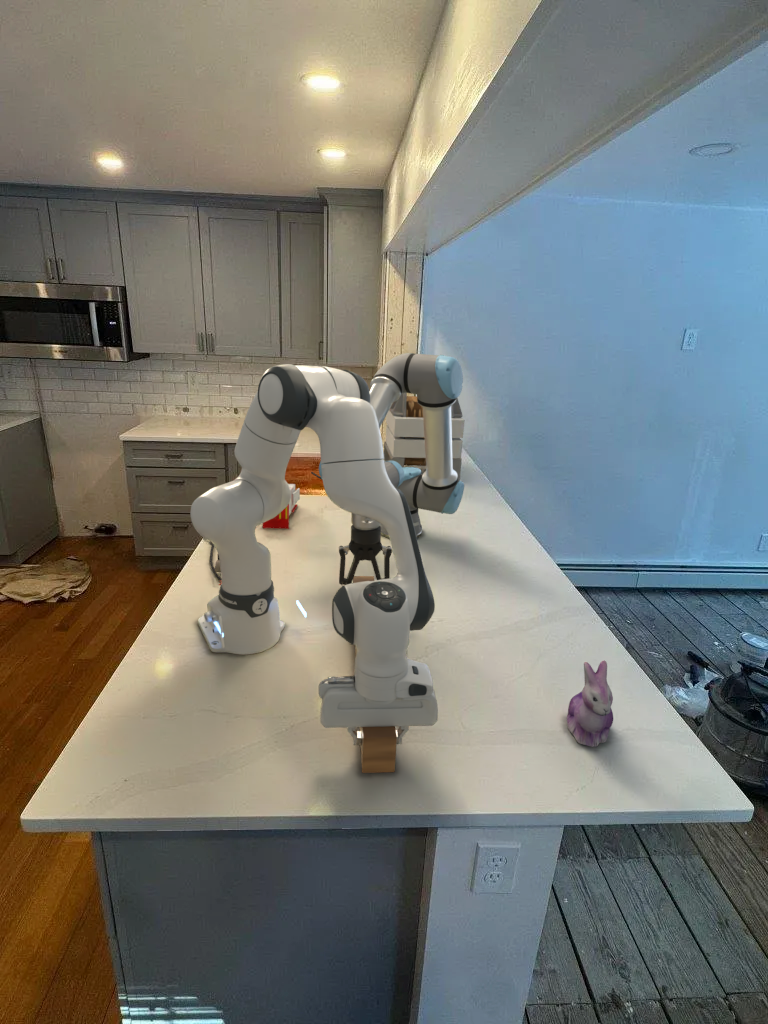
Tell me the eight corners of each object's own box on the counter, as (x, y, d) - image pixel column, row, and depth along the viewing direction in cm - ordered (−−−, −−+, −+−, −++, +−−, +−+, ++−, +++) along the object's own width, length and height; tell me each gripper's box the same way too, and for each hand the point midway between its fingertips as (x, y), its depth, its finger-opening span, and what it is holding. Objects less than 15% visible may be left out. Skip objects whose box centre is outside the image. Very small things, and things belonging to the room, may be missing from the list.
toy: (301, 479, 224) (291, 492, 194) (301, 512, 226) (291, 530, 197) (270, 478, 223) (256, 491, 194) (271, 511, 226) (256, 529, 197)
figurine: (591, 756, 102) (606, 687, 97) (551, 721, 111) (563, 655, 106) (628, 741, 107) (644, 673, 101) (587, 708, 115) (599, 644, 110)
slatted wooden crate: (382, 463, 289) (386, 382, 275) (445, 464, 293) (451, 384, 279) (390, 482, 257) (394, 392, 243) (460, 483, 261) (468, 394, 247)
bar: (352, 600, 153) (352, 575, 150) (372, 600, 154) (373, 576, 151) (362, 773, 97) (363, 737, 94) (394, 772, 97) (396, 737, 95)
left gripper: (317, 689, 91) (317, 757, 96) (442, 687, 93) (436, 754, 98) (319, 665, 97) (318, 730, 102) (436, 664, 99) (430, 728, 104)
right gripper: (328, 530, 137) (327, 614, 145) (405, 531, 139) (400, 614, 146) (328, 519, 144) (327, 600, 152) (401, 520, 146) (397, 600, 154)
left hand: (377, 742), depth 100 cm, fingers closed on bar, 5 cm apart
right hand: (363, 606), depth 149 cm, fingers closed on bar, 6 cm apart
